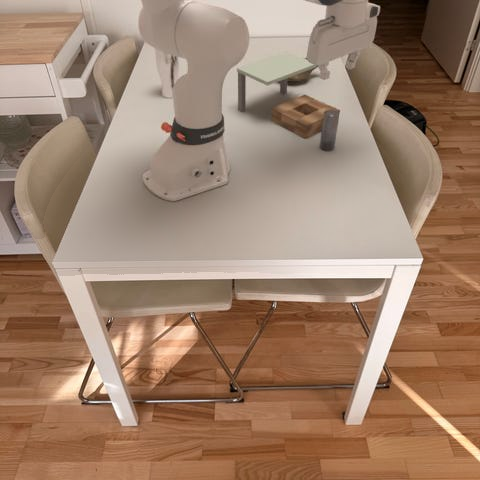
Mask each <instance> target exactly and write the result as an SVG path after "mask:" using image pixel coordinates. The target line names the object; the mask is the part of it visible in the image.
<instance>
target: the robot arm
mask: <svg viewBox="0 0 480 480" xmlns="http://www.w3.org/2000/svg"><path fill="white" fill-rule="evenodd" d="M305 1H306V2H309V3H312V4H316V5H319V6H326V8H325V17H324V19H319V20H318V21H317V22H316V24H315V25H314V26H313V28H312V31H311V32H310V35H309V41H308V46H307V51H306V57H307V60H308V62H310V63H312V64H314V65H317V66H318V67H317V68H318V69H319V71H320V73H319V78H320V79H321V80H323V81H325V80H328V79H329V78H330V75H331V71H330V70H328V66H329V63H330V62H332V61H335V60H338V59H340V58H342V57H345V56H348V55H349V58H348V59H346V60H345V61H346V62H345V68H346V69H348V70H352V69H354V68H355V67H356V63H357V60H358V58H359V56H360V55H361V52H362V50H363V49H365V48H367V47H370V46H371V45H372V43H373V42H374V40H375V35H376V31H377V25H378V16H379V14H380V12H381V6H380V5H377V4H375V3H371V2H369V0H304V2H305ZM141 4H142V7H141V9H140V11H139V13H138V14H139V16H138V30H139V34H140V36H141V38H142V40H143V42H145V43H146V44H147V45H149V46H151V47H152V48H153V49H157V50H159V51H161V52H163V53H166V54H170V55H173V56H177V57H178V58H182V59H185V60H186V63H187V73H185V74H183V75H181V76H180V77H178V80H177V81H176V82H175V84H174V86H173V90H172V93H173V98H172V100H173V110H174V117H173V121H172V124H169V123H168V122H166V121H164V122H162V123H161V125H160V126H161V127H160V129H161V130H162V131H163V132H165V133H167V134H168V133H170V134H169V136H168V137H166V139H165V140H164V142H163V143H162V144H161V145H160V146H159V148H158V149H157V150H156V151H155V152H154V153H153V154H152V156H151V159H150V168H149V169H148V170H147V171H144V173H143V174H142V182H143V184H144V185H145V187H146V188H147V189H148V191H150V192H152V194H154V195H156V196H157V197H159V198H160V199H163V200H165V201H170V202H176V201H180V200H182V199H185V198H189V197H192V196H195V195H198V194H201V193H204V192H207V191H210V190H214V189H216V188H219V187H221V186H224V185H227V184H228V182H229V177H228V175H229V173H230V171H231V164H230V162H229V158H228V155H227V150H226V146H225V138H224V133H225V117H224V115H223V101H222V100H223V87H224V83H225V79H226V76H227V74H228V72H230V70H231V69H232V68H234V67H235V66H237V65H238V64H239V63H241V61H242V60H243V59H244V57H245V56H246V54H247V52H248V49H249V46H250V31H249V27H248V24H247V22H246V20H245V19H244V18H243V17H242V16H240V15H238V14H236V13H235V12H233V11H230V10H229V9H227V8H225V7H220V6H215V5H211V4H205V3H201V2H196V1H194V0H141Z"/></svg>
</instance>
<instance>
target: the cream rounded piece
mask: <svg viewBox="0 0 480 480" xmlns="http://www.w3.org/2000/svg"><path fill="white" fill-rule="evenodd" d="M154 49H155V48H154ZM154 51H155V62H156V63H155V64H156V68H157V73H158V75H159V78H160V82H161V96H162V97H164V98H165V99H173V93H172V90H173V86H174V84H175V82H176V81H177V80H178V79H179V71H180V70H179V68H180V63H179V62H180V61H179V57H177V56H173V55H170V54H166V53H163V52H161V51H159V50H157V49H155V50H154Z"/></svg>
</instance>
